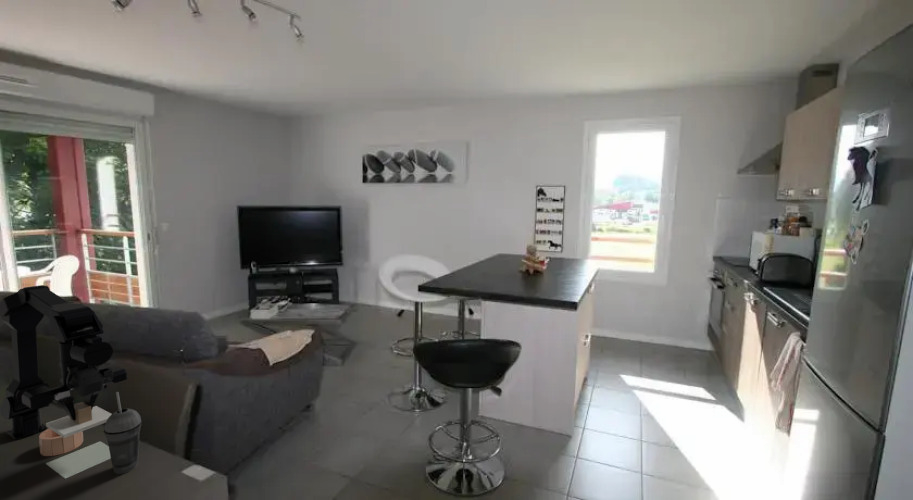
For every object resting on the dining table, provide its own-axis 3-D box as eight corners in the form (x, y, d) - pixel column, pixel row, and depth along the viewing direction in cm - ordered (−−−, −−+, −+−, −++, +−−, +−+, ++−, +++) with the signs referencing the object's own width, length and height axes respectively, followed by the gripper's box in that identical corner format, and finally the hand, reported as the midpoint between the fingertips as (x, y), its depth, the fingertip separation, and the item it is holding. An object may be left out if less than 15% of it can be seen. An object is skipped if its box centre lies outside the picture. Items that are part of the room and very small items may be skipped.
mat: (45, 465, 101) (45, 463, 101) (100, 442, 111) (100, 441, 111) (65, 480, 96) (65, 478, 96) (120, 455, 106) (120, 453, 106)
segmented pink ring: (35, 451, 106) (34, 433, 106) (75, 436, 113) (73, 419, 113) (48, 461, 102) (47, 442, 102) (88, 445, 110) (87, 427, 109)
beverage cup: (123, 481, 96) (118, 402, 94) (98, 476, 98) (92, 398, 95) (151, 462, 103) (147, 388, 101) (128, 458, 105) (123, 384, 102)
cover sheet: (46, 426, 100) (44, 409, 99) (96, 408, 109) (95, 393, 108) (64, 438, 95) (62, 420, 95) (115, 418, 104) (114, 402, 104)
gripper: (38, 379, 88) (44, 446, 90) (137, 352, 105) (140, 409, 106) (18, 368, 93) (24, 431, 95) (115, 344, 110) (119, 399, 112)
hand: (81, 417), depth 102 cm, fingers closed on cover sheet, 2 cm apart
